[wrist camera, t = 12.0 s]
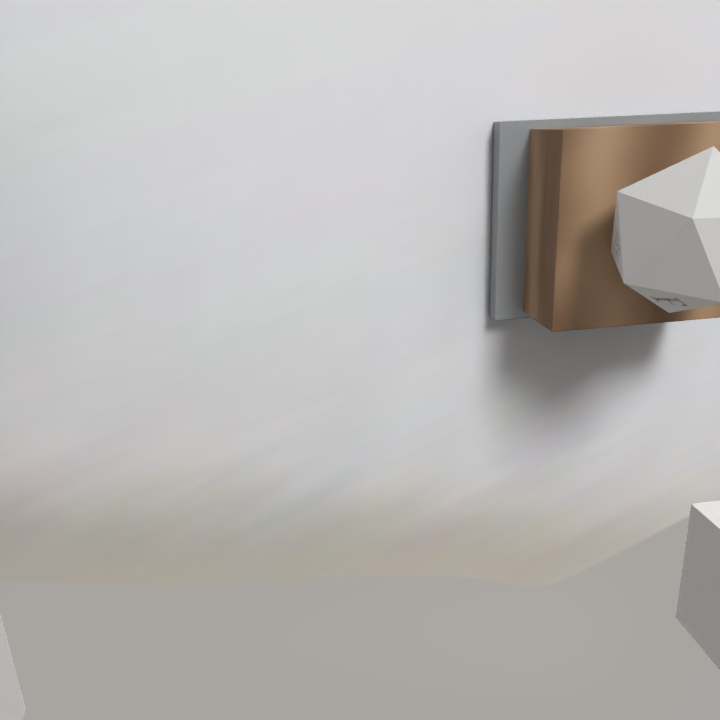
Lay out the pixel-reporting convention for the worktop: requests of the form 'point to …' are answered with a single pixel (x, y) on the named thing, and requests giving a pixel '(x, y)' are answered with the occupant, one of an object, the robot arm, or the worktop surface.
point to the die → (672, 234)
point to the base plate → (514, 195)
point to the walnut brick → (595, 219)
